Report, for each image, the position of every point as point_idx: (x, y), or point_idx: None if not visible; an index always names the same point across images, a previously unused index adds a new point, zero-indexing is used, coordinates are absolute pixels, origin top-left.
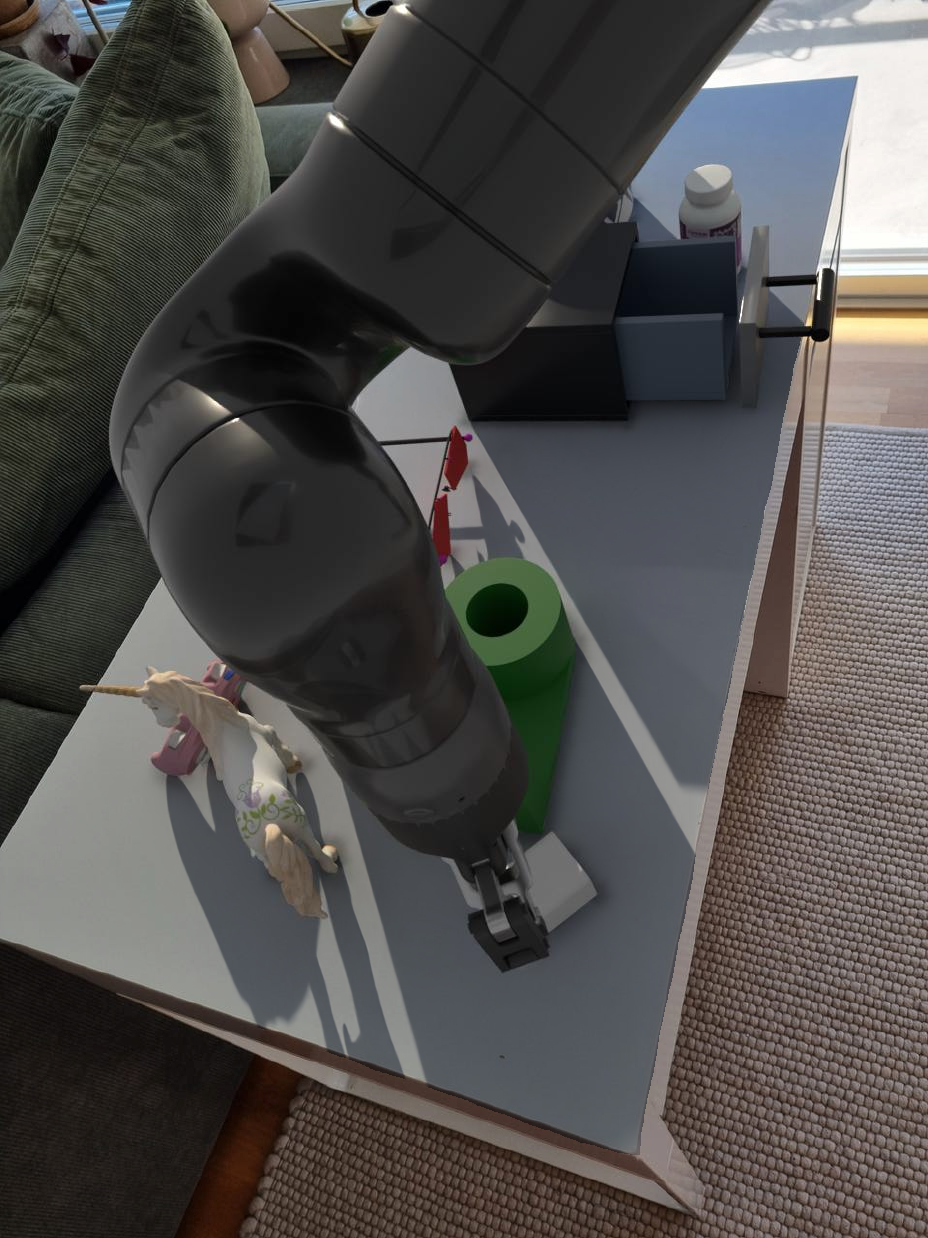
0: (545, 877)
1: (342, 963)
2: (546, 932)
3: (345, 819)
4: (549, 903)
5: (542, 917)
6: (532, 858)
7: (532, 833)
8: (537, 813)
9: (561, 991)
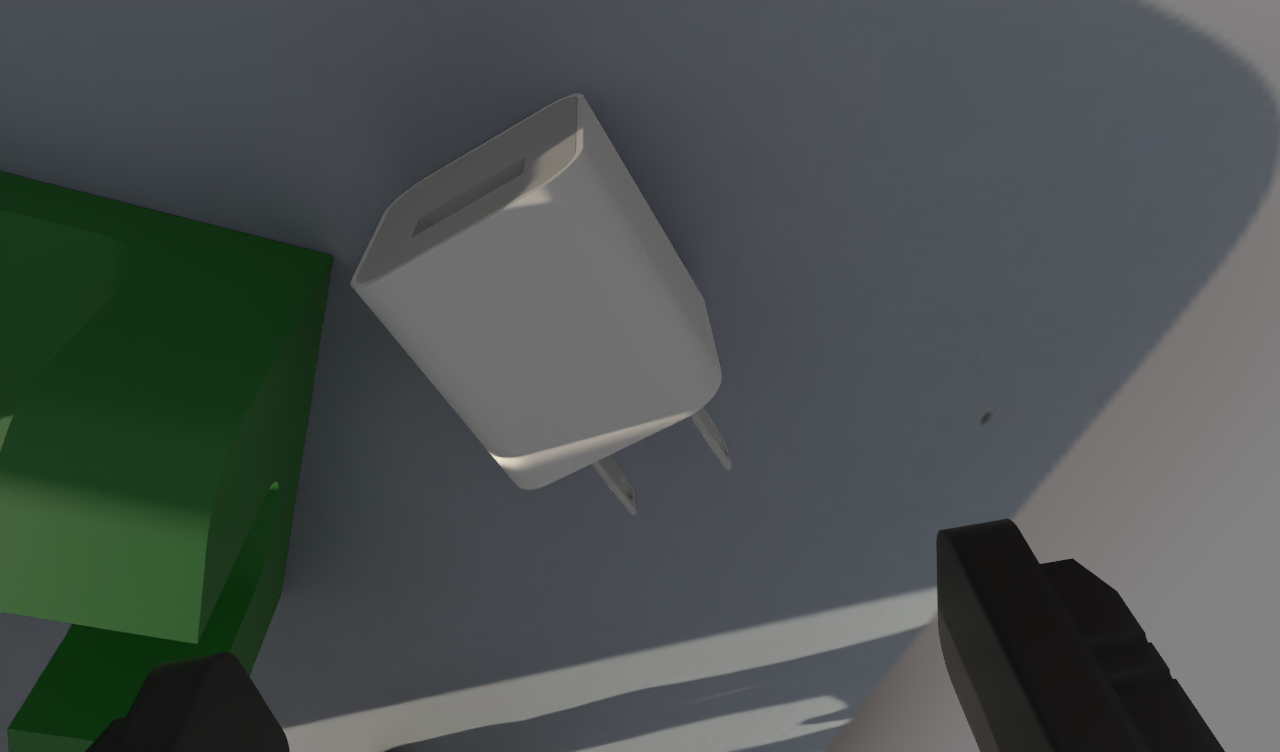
0: (558, 337)
1: (663, 731)
2: (1022, 543)
3: None
4: (664, 329)
5: (973, 584)
6: (474, 378)
7: (327, 289)
8: (260, 305)
9: (865, 248)
